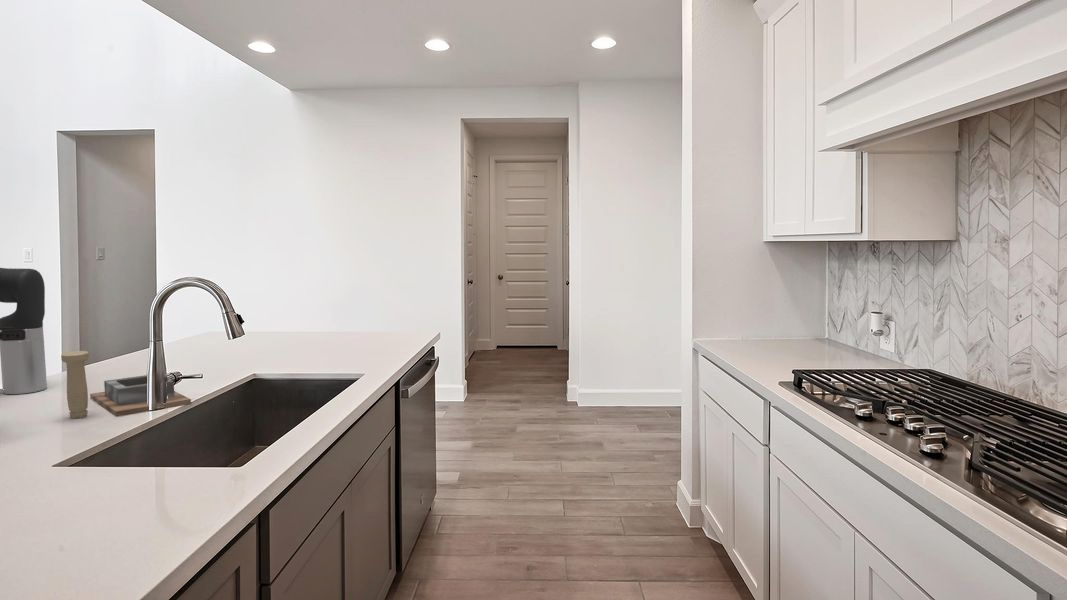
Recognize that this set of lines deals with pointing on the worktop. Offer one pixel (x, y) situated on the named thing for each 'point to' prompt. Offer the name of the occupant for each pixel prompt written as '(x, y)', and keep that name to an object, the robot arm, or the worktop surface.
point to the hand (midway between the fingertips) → (20, 333)
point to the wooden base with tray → (133, 396)
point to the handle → (76, 383)
